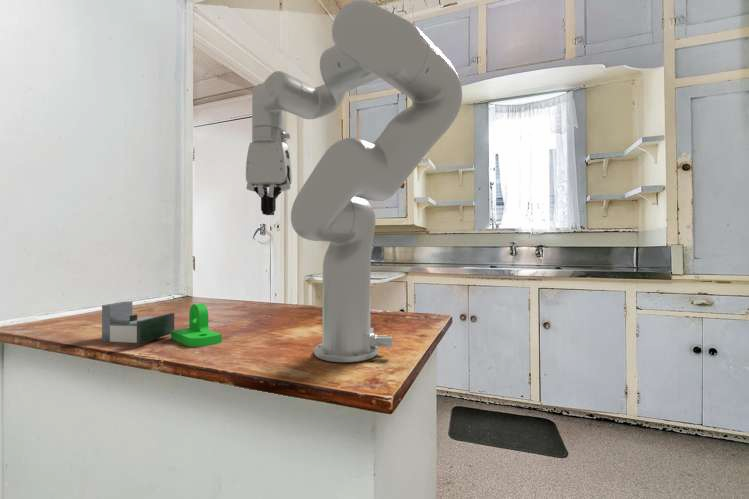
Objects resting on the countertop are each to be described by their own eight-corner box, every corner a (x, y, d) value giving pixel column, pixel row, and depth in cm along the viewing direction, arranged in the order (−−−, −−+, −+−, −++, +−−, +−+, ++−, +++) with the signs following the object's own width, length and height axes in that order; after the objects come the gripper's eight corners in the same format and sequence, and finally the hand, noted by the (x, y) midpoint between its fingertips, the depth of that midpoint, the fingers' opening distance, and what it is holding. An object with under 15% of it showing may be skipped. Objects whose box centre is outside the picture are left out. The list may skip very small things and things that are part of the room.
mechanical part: (171, 339, 79) (171, 305, 79) (197, 334, 84) (198, 302, 84) (193, 349, 72) (193, 311, 72) (221, 343, 76) (221, 307, 76)
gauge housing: (160, 336, 82) (160, 302, 82) (139, 342, 76) (139, 306, 76) (124, 334, 83) (124, 301, 83) (101, 341, 77) (102, 305, 77)
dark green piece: (174, 332, 82) (174, 310, 82) (140, 344, 72) (140, 319, 72) (149, 331, 82) (149, 310, 82) (112, 342, 73) (112, 318, 73)
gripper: (303, 142, 86) (303, 215, 86) (247, 144, 88) (247, 216, 88) (292, 132, 79) (292, 212, 79) (231, 135, 81) (231, 213, 81)
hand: (268, 214), depth 83 cm, fingers closed
